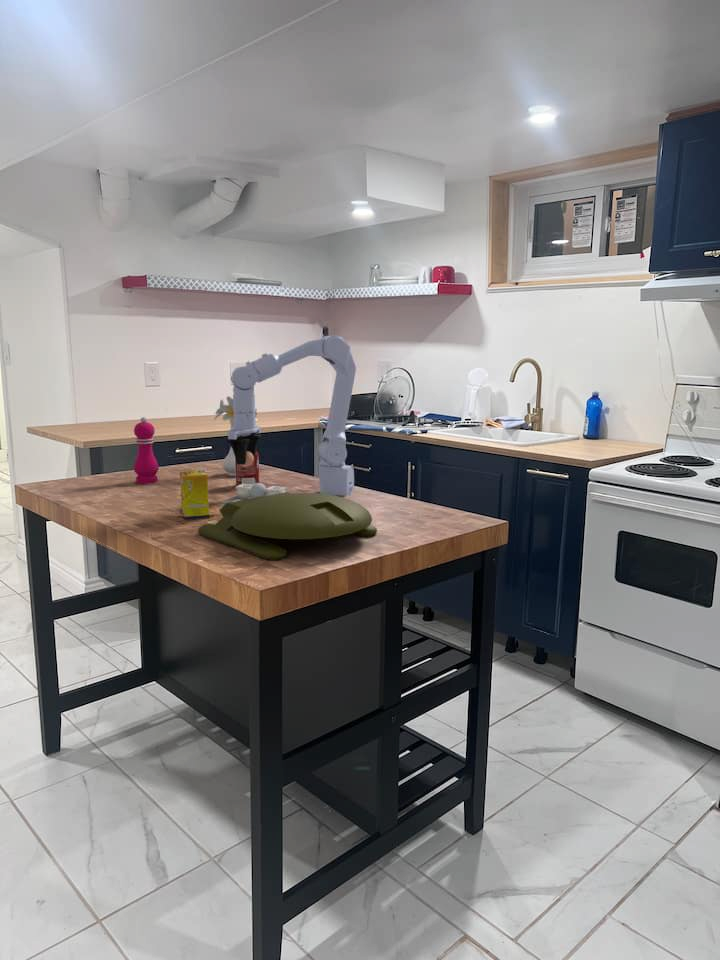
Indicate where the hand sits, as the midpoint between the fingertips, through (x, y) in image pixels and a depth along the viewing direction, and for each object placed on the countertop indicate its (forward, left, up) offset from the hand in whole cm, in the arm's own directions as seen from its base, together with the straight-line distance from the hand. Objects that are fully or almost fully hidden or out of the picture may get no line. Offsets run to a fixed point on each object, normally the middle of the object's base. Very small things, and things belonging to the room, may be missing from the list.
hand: (245, 462), depth 189 cm
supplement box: (+3, +20, -11) cm, 23 cm away
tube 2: (-9, 0, -9) cm, 13 cm away
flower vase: (+20, -33, -11) cm, 40 cm away
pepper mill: (+40, -12, -11) cm, 44 cm away
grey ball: (-5, +1, -7) cm, 9 cm away
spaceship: (-27, +28, -11) cm, 41 cm away
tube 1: (0, 0, -9) cm, 9 cm away
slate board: (-5, +1, -10) cm, 11 cm away
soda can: (+7, -14, -11) cm, 19 cm away
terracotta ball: (0, 0, +1) cm, 1 cm away
